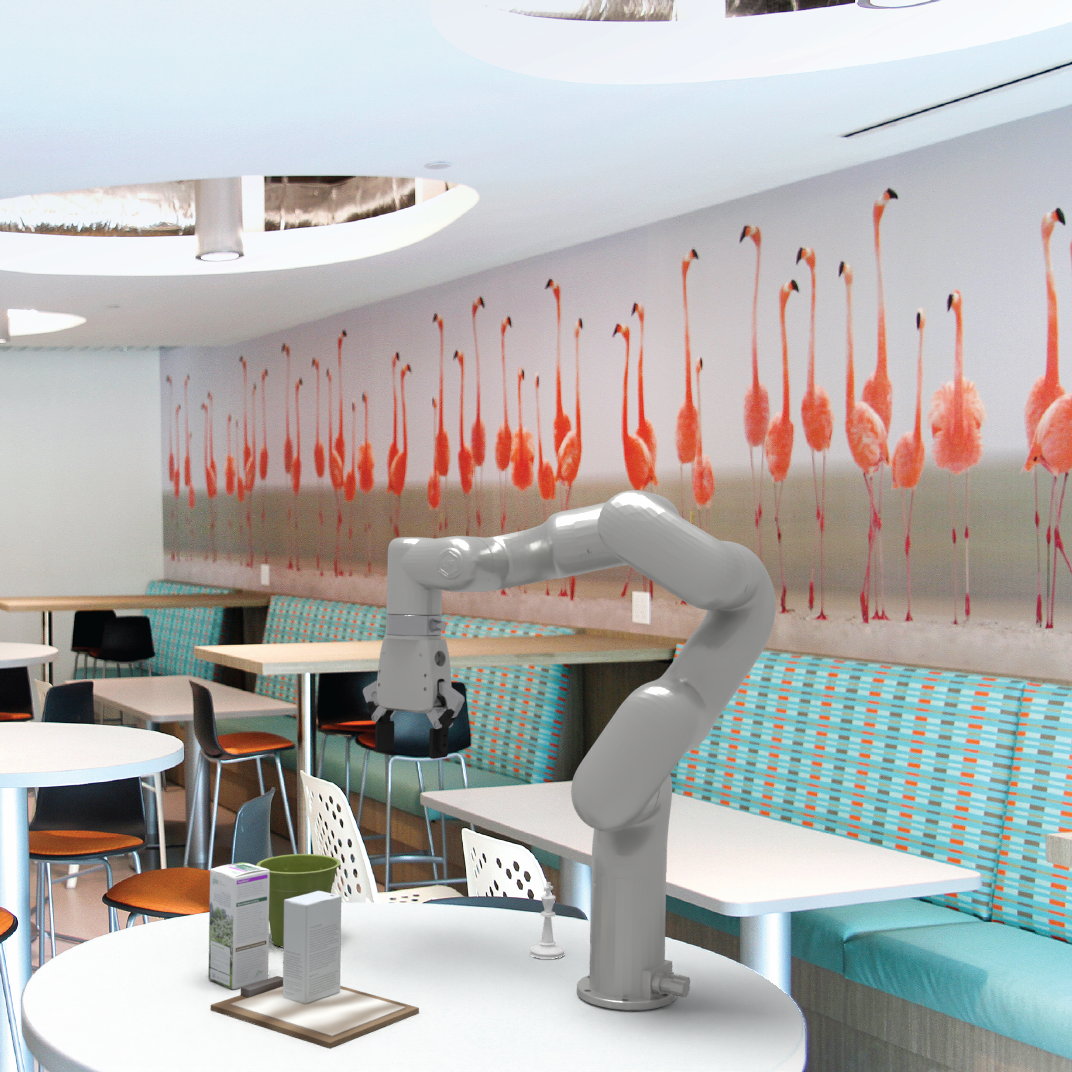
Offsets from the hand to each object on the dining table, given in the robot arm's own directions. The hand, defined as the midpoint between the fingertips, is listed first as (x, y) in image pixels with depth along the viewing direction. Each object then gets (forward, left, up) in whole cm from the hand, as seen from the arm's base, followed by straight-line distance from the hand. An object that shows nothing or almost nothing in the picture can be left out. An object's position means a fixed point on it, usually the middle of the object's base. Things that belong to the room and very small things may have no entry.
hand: (411, 754), depth 176 cm
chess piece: (-12, -16, -28) cm, 35 cm away
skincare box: (-1, +19, -28) cm, 34 cm away
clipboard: (-4, +21, -28) cm, 35 cm away
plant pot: (+19, +2, -28) cm, 34 cm away
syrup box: (+12, +19, -28) cm, 36 cm away
